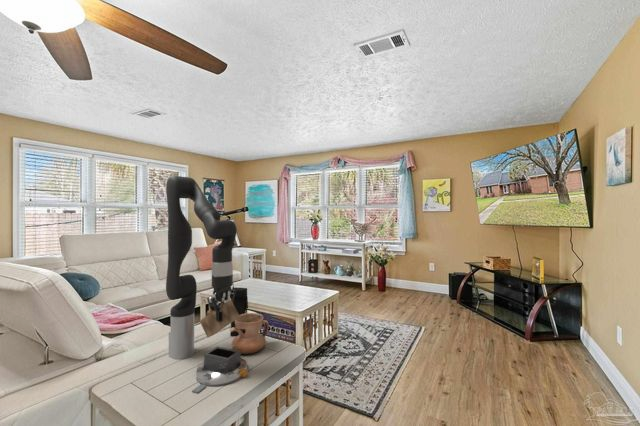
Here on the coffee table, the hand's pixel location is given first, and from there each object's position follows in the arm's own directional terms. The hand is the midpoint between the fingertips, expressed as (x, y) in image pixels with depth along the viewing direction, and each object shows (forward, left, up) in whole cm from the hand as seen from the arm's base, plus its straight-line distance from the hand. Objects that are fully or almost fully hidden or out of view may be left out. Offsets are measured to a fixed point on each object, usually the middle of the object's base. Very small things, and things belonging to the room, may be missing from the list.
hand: (222, 319), depth 112 cm
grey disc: (0, 0, -20) cm, 20 cm away
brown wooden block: (-8, 0, -4) cm, 9 cm away
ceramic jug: (-2, +20, -20) cm, 29 cm away
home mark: (0, -11, -20) cm, 23 cm away
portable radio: (-16, +32, -20) cm, 41 cm away
